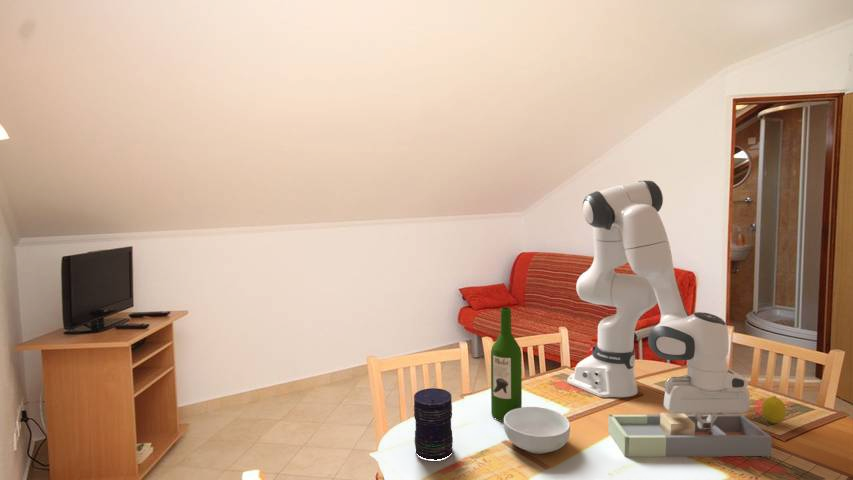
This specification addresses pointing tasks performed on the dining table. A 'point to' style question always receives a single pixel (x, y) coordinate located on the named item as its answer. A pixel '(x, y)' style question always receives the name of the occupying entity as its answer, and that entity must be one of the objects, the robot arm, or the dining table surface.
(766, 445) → the tray
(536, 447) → the cereal bowl
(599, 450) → the dining table surface
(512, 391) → the wine bottle
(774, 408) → the lemon
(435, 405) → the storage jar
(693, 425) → the block
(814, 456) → the dining table surface
